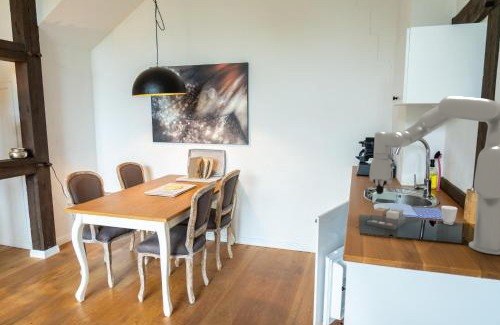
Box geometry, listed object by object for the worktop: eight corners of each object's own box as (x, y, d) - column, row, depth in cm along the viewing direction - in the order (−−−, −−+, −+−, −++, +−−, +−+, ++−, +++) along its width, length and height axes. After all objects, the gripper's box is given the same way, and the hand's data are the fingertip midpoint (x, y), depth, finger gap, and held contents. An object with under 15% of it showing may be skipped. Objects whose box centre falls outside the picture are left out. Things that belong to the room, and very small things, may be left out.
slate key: (403, 215, 161) (403, 209, 160) (400, 217, 157) (400, 211, 157) (393, 213, 164) (393, 208, 163) (390, 215, 160) (390, 209, 160)
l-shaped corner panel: (372, 206, 195) (372, 194, 195) (375, 202, 206) (376, 190, 205) (393, 208, 189) (394, 196, 188) (396, 204, 199) (396, 192, 199)
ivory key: (399, 217, 156) (399, 211, 156) (396, 219, 153) (396, 213, 152) (389, 216, 159) (389, 210, 159) (386, 218, 156) (386, 212, 156)
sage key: (389, 213, 165) (390, 207, 165) (386, 214, 161) (386, 209, 161) (380, 211, 168) (380, 206, 168) (377, 213, 165) (377, 207, 164)
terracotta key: (385, 215, 160) (385, 209, 160) (382, 217, 157) (382, 211, 157) (376, 213, 163) (376, 208, 163) (373, 215, 160) (373, 209, 160)
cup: (439, 224, 158) (440, 208, 157) (440, 219, 166) (441, 203, 166) (456, 226, 154) (457, 209, 153) (456, 221, 163) (457, 205, 162)
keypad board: (405, 222, 161) (405, 214, 161) (394, 230, 148) (394, 222, 148) (379, 217, 170) (379, 210, 169) (366, 224, 157) (366, 216, 157)
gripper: (400, 157, 155) (397, 194, 157) (369, 155, 165) (367, 190, 167) (395, 158, 150) (392, 197, 152) (363, 156, 159) (361, 192, 161)
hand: (379, 193), depth 159 cm, fingers closed
